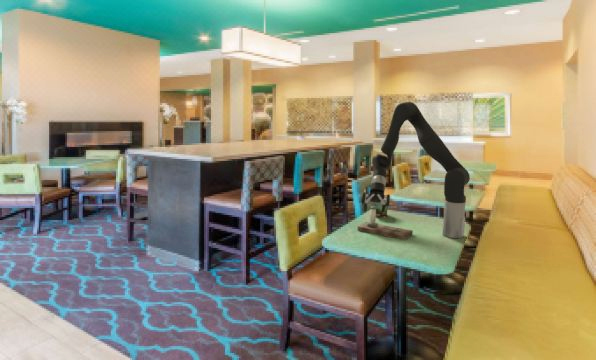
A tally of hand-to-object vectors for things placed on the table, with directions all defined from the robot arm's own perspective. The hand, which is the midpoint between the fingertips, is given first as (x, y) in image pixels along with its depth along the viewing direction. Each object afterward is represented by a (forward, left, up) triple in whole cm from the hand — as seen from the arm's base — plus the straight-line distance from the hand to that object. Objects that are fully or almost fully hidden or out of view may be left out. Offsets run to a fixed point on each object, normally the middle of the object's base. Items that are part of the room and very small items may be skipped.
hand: (373, 211), depth 194 cm
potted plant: (+6, -27, -9) cm, 29 cm away
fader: (0, +2, -7) cm, 7 cm away
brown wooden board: (-7, +2, -9) cm, 12 cm away
